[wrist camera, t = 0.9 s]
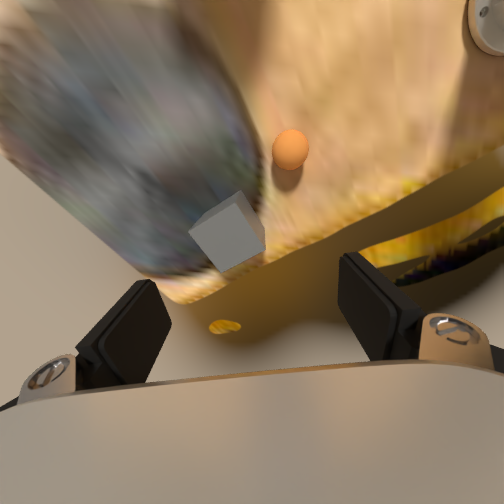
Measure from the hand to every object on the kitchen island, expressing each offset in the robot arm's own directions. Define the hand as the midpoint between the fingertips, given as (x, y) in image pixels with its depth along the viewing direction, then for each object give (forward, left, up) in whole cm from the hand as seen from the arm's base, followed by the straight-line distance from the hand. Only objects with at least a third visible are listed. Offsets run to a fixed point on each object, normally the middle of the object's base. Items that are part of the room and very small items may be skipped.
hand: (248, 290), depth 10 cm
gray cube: (+6, +2, -26) cm, 26 cm away
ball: (-7, -3, -23) cm, 24 cm away
